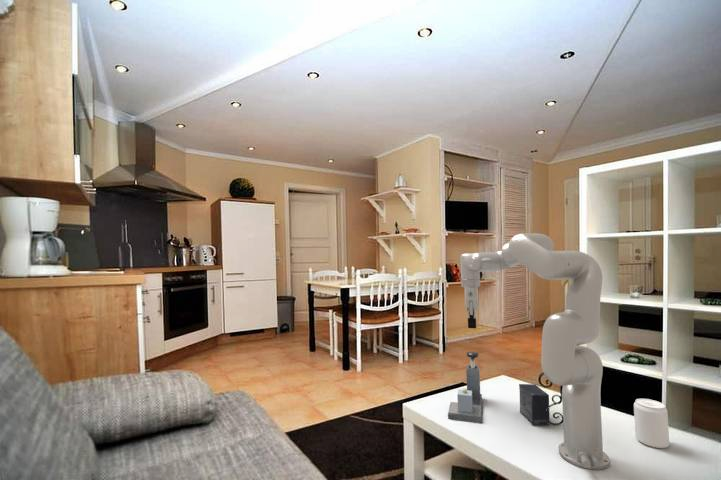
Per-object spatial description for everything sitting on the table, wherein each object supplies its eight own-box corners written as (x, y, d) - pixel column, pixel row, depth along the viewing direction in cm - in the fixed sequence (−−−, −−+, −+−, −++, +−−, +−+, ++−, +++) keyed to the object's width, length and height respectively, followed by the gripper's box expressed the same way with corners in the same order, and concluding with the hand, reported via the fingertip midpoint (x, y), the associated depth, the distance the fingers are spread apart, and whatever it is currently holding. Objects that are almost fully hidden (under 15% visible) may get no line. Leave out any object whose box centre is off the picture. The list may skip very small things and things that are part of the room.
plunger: (479, 388, 140) (478, 355, 141) (467, 387, 142) (466, 354, 142) (479, 384, 144) (478, 351, 145) (467, 383, 146) (466, 351, 146)
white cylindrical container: (656, 451, 103) (654, 410, 104) (629, 438, 111) (627, 399, 112) (676, 447, 106) (674, 406, 106) (648, 434, 113) (646, 396, 114)
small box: (551, 425, 120) (550, 394, 121) (532, 425, 120) (531, 394, 121) (536, 411, 131) (535, 383, 131) (519, 412, 131) (518, 383, 131)
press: (481, 423, 123) (480, 385, 123) (448, 418, 127) (447, 382, 127) (481, 397, 144) (480, 365, 145) (453, 394, 148) (452, 363, 148)
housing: (472, 412, 127) (471, 392, 127) (457, 410, 129) (457, 391, 129) (472, 406, 132) (471, 387, 132) (458, 405, 133) (458, 386, 134)
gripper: (480, 284, 136) (481, 332, 135) (480, 281, 150) (481, 324, 150) (460, 284, 139) (461, 331, 138) (462, 281, 153) (463, 324, 152)
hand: (472, 327), depth 144 cm, fingers closed
